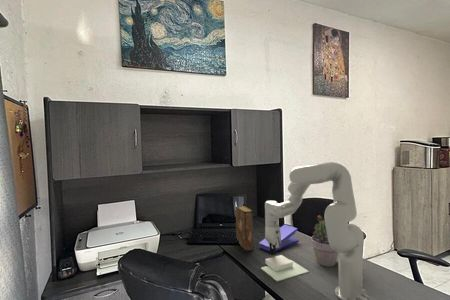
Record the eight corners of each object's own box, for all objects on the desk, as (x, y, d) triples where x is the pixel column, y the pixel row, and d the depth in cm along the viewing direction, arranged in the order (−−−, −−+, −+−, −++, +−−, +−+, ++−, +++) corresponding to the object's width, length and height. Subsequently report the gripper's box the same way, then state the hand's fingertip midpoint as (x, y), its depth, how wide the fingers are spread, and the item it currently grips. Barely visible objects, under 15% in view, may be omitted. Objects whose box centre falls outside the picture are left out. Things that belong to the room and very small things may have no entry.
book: (254, 249, 165) (253, 210, 164) (246, 251, 163) (245, 212, 162) (243, 240, 180) (242, 205, 179) (236, 241, 178) (235, 206, 177)
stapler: (299, 241, 176) (298, 227, 176) (272, 254, 158) (272, 238, 158) (285, 237, 185) (285, 223, 184) (258, 248, 167) (258, 233, 167)
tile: (281, 259, 149) (292, 267, 140) (265, 263, 144) (276, 271, 135) (281, 254, 149) (292, 262, 140) (265, 259, 144) (275, 266, 135)
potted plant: (333, 275, 131) (332, 226, 130) (302, 261, 147) (301, 217, 146) (353, 265, 141) (352, 219, 140) (322, 252, 157) (321, 212, 156)
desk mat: (308, 272, 135) (308, 271, 135) (277, 281, 127) (277, 280, 127) (290, 260, 149) (290, 259, 149) (260, 268, 140) (260, 267, 140)
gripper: (285, 225, 141) (286, 258, 142) (270, 218, 155) (271, 248, 155) (274, 227, 138) (275, 261, 139) (259, 220, 152) (260, 250, 152)
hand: (272, 254), depth 147 cm, fingers closed
